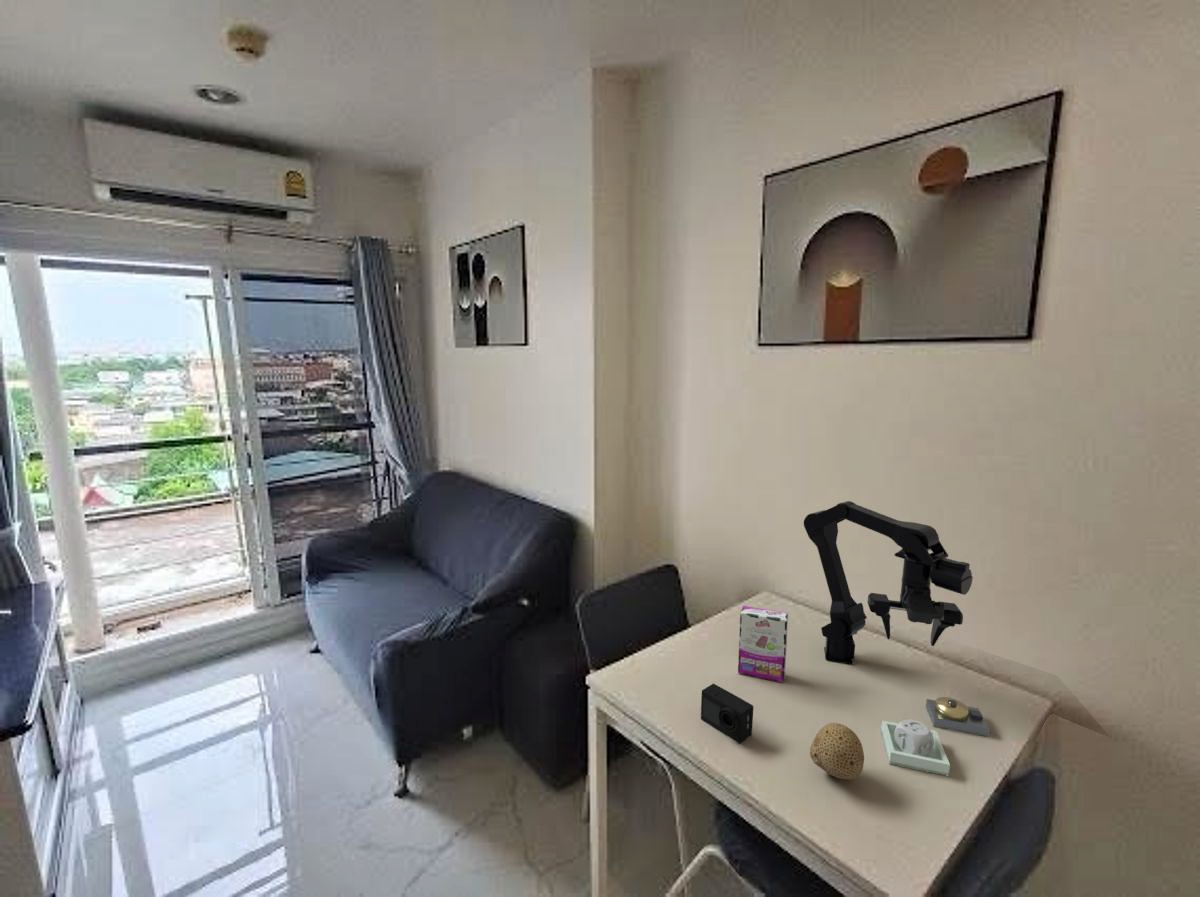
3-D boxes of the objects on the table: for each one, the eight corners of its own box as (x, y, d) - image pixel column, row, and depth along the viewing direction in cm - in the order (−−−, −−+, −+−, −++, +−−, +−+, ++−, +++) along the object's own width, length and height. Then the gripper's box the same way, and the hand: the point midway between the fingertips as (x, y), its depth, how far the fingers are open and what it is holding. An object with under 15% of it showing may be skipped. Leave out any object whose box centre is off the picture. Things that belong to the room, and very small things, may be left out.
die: (892, 744, 110) (894, 721, 109) (911, 738, 111) (913, 716, 110) (913, 761, 105) (916, 738, 104) (933, 755, 107) (935, 732, 106)
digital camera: (696, 721, 117) (697, 691, 116) (712, 711, 121) (713, 682, 120) (736, 747, 109) (737, 715, 108) (751, 735, 113) (753, 705, 112)
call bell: (933, 726, 116) (935, 707, 115) (925, 706, 123) (927, 689, 122) (988, 736, 113) (990, 717, 112) (977, 716, 119) (979, 698, 119)
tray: (889, 763, 105) (890, 752, 105) (881, 731, 114) (882, 720, 114) (948, 776, 102) (950, 764, 101) (934, 742, 111) (936, 731, 111)
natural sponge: (874, 791, 98) (879, 742, 97) (830, 799, 96) (835, 749, 95) (842, 756, 107) (846, 710, 105) (801, 763, 105) (805, 716, 104)
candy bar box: (785, 673, 136) (789, 612, 133) (783, 684, 131) (788, 620, 128) (739, 663, 140) (742, 604, 137) (736, 673, 135) (740, 612, 133)
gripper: (877, 587, 121) (871, 651, 123) (974, 599, 115) (966, 667, 117) (869, 569, 131) (864, 629, 134) (958, 579, 125) (951, 642, 128)
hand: (909, 641), depth 128 cm, fingers open, 9 cm apart
